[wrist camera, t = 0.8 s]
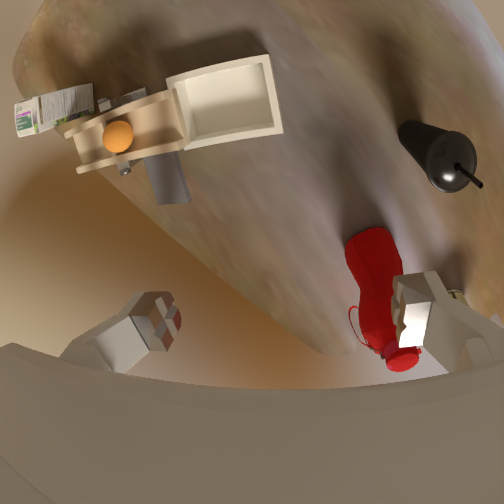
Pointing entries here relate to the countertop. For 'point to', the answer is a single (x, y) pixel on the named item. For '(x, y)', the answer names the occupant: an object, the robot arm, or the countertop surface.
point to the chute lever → (142, 143)
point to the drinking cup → (441, 155)
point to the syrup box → (53, 109)
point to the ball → (117, 136)
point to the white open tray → (229, 101)
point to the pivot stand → (123, 100)
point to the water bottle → (378, 295)
